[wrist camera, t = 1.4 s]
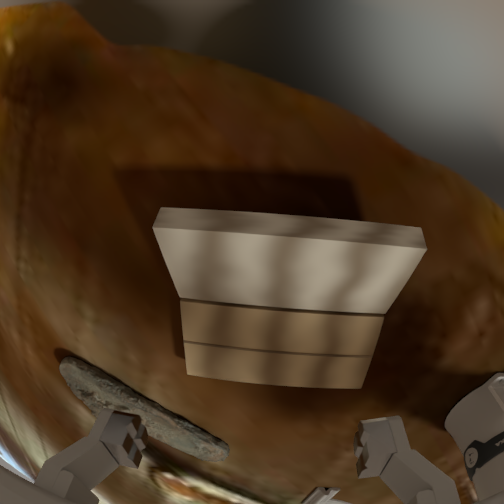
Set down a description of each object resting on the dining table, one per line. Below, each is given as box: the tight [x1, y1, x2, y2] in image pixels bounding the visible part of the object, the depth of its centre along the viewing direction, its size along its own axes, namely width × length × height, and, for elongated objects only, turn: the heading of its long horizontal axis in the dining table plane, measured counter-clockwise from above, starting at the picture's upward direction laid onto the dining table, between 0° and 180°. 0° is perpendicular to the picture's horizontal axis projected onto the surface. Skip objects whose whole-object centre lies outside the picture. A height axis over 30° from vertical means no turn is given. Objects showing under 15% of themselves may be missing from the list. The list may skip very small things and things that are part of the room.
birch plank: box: [152, 207, 427, 314], centre depth 31 cm, size 24×12×2 cm, turn 88°
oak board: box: [180, 298, 384, 389], centre depth 38 cm, size 24×12×3 cm, turn 88°
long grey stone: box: [59, 356, 230, 462], centre depth 48 cm, size 35×5×10 cm
